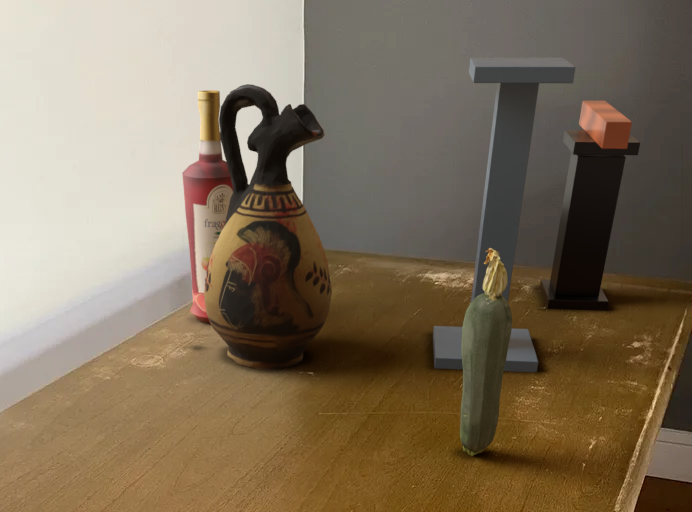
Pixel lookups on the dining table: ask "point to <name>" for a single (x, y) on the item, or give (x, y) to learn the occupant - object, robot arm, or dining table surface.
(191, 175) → the liquor
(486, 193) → the blue display stand
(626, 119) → the orange rectangular block
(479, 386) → the vegetable
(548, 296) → the pedestal
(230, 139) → the ceramic jug
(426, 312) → the dining table surface
